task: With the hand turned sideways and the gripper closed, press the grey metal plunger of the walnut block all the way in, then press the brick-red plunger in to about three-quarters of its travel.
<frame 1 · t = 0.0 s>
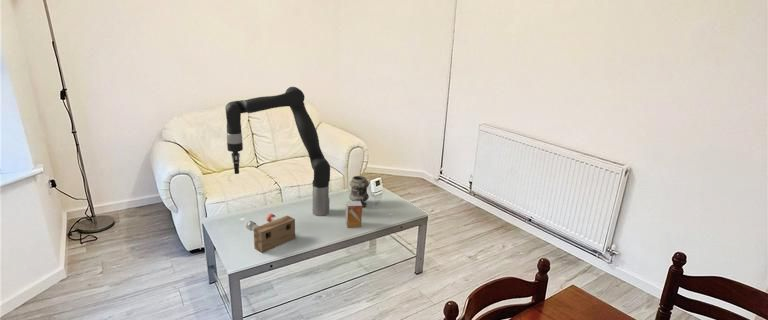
hand: (236, 171, 220), 29 cm above the table, tool pointing down, fingers open, 8 cm apart
small box: (353, 225, 232), on the table
walnut housing: (271, 241, 210), on the table
grey plunger: (257, 229, 205), point 8 cm above the table, slide at 0.0 cm
red plunger: (277, 221, 214), point 8 cm above the table, slide at 0.0 cm
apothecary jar: (358, 205, 258), on the table
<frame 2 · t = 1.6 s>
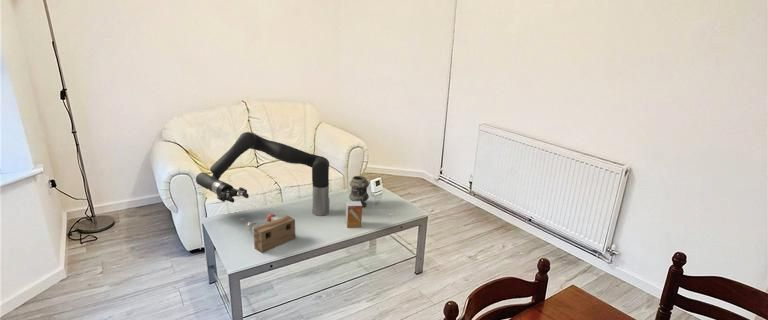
hand: (240, 198, 209), 20 cm above the table, tool horizontal, fingers open, 7 cm apart
nothing on the table moved.
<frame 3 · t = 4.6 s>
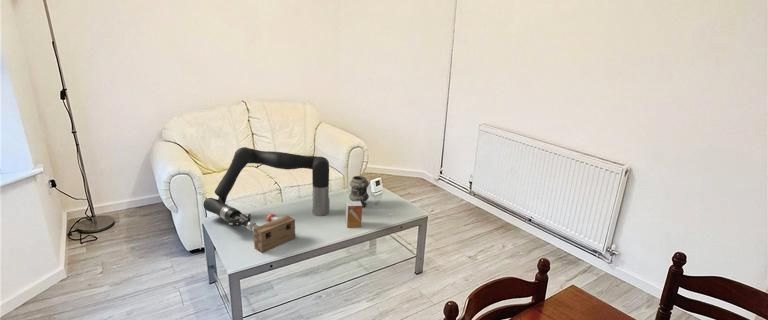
hand: (250, 225, 208), 8 cm above the table, tool horizontal, fingers closed
grey plunger: (257, 229, 205), point 8 cm above the table, slide at 0.1 cm, touching gripper
everything else where it was.
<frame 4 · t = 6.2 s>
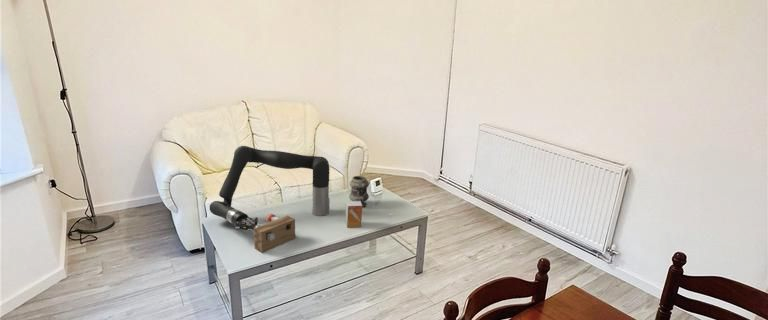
hand: (257, 229, 205), 8 cm above the table, tool horizontal, fingers closed
grey plunger: (264, 233, 201), point 8 cm above the table, slide at 6.1 cm, touching gripper
everything else where it was.
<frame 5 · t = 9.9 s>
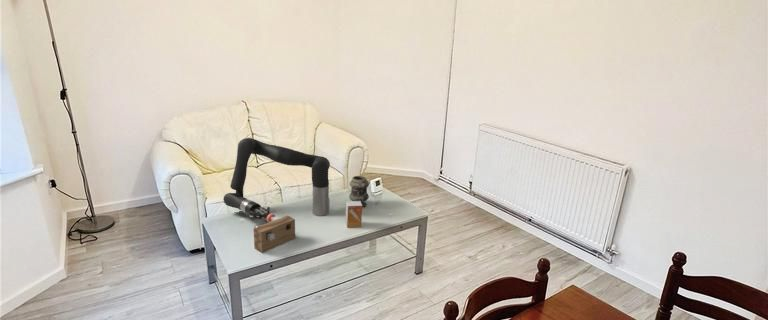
hand: (270, 217, 217), 8 cm above the table, tool horizontal, fingers closed
grey plunger: (264, 233, 201), point 8 cm above the table, slide at 6.1 cm
red plunger: (277, 221, 214), point 8 cm above the table, slide at 0.0 cm, touching gripper
everything else where it was.
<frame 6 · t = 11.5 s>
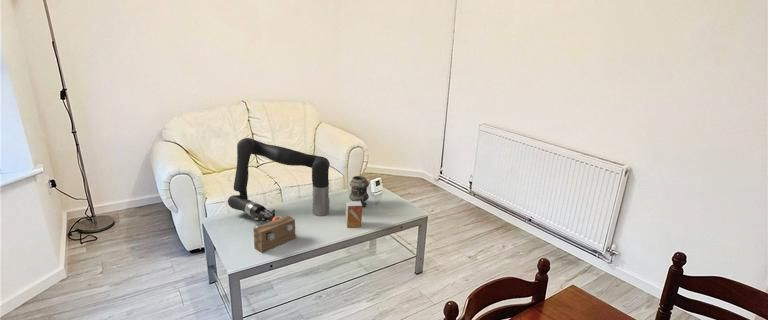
hand: (275, 220, 215), 8 cm above the table, tool horizontal, fingers closed
red plunger: (282, 224, 211), point 8 cm above the table, slide at 4.4 cm, touching gripper
everything else where it was.
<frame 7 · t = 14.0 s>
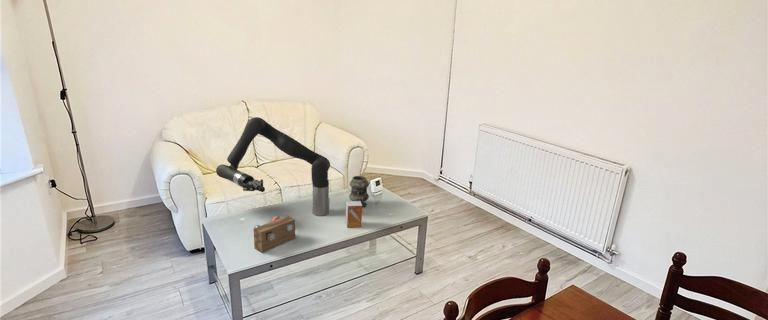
hand: (263, 190, 217), 22 cm above the table, tool horizontal, fingers closed
red plunger: (282, 224, 211), point 8 cm above the table, slide at 4.4 cm
everything else where it was.
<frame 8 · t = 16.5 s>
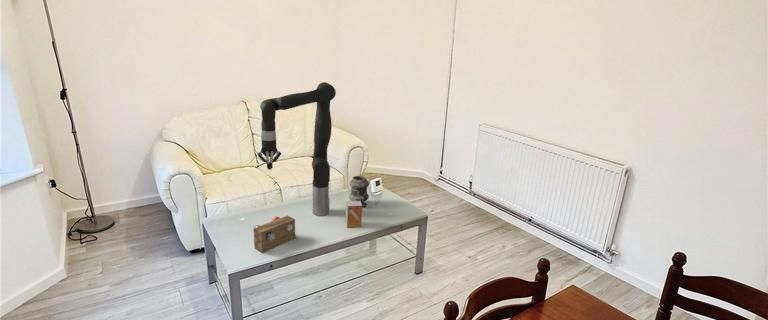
hand: (269, 169, 226), 29 cm above the table, tool pointing down, fingers closed
nothing on the table moved.
at the end: grey plunger slide at 6.1 cm; red plunger slide at 4.4 cm; small box moved 0.3 cm from its start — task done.
